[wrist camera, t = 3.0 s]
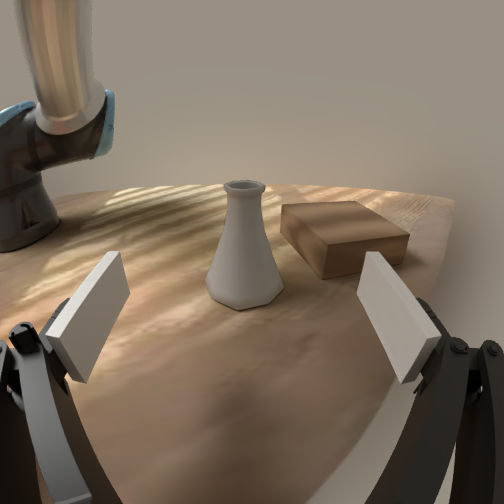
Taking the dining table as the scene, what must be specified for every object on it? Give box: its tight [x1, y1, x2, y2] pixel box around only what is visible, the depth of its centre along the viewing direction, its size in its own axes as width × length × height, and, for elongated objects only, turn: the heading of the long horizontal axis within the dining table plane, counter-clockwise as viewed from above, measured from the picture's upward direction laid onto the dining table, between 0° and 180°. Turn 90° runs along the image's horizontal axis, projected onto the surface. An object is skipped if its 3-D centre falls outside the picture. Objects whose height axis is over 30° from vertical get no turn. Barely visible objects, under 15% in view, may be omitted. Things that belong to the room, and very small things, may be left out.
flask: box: [205, 180, 284, 310], centre depth 24 cm, size 7×7×10 cm
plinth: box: [280, 201, 410, 279], centre depth 33 cm, size 12×12×4 cm
